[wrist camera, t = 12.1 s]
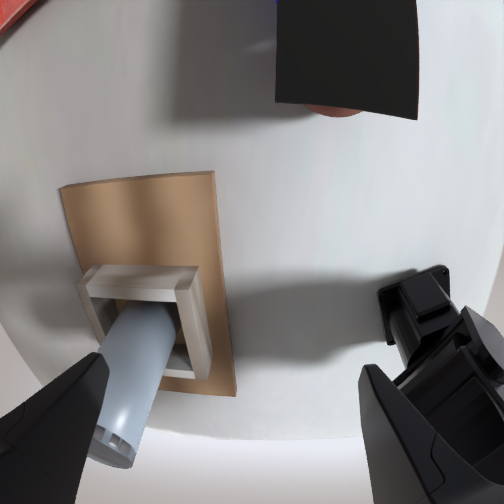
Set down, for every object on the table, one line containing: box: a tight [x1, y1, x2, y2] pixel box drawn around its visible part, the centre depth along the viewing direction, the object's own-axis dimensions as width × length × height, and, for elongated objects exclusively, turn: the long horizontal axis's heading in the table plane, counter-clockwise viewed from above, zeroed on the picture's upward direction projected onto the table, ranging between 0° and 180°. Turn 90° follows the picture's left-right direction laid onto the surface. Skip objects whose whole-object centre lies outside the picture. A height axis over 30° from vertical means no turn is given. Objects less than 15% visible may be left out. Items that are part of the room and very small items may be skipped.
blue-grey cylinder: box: [87, 300, 181, 469], centre depth 18 cm, size 5×5×13 cm
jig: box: [60, 171, 237, 397], centre depth 23 cm, size 12×22×4 cm, turn 2°
